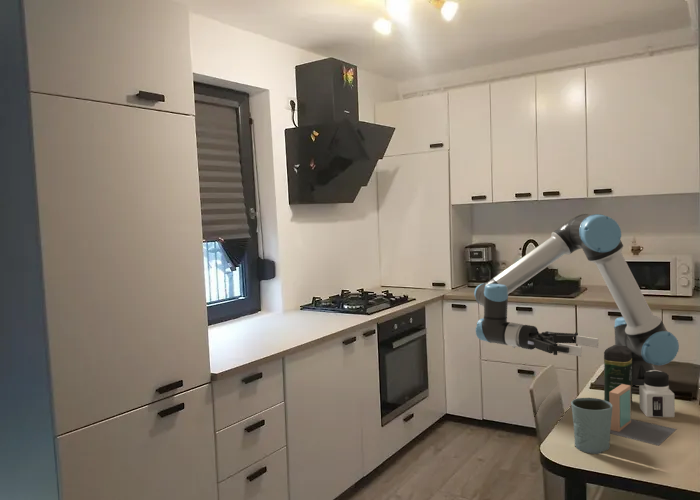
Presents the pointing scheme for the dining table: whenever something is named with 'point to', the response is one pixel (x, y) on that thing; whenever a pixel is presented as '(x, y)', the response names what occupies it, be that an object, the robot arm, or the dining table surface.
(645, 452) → the dining table surface
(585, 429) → the teal planter pot
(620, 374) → the coffee jar
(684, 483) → the dining table surface
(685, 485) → the dining table surface
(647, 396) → the container
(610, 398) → the salmon orange rectangular block
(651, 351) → the robot arm
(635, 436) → the mat
